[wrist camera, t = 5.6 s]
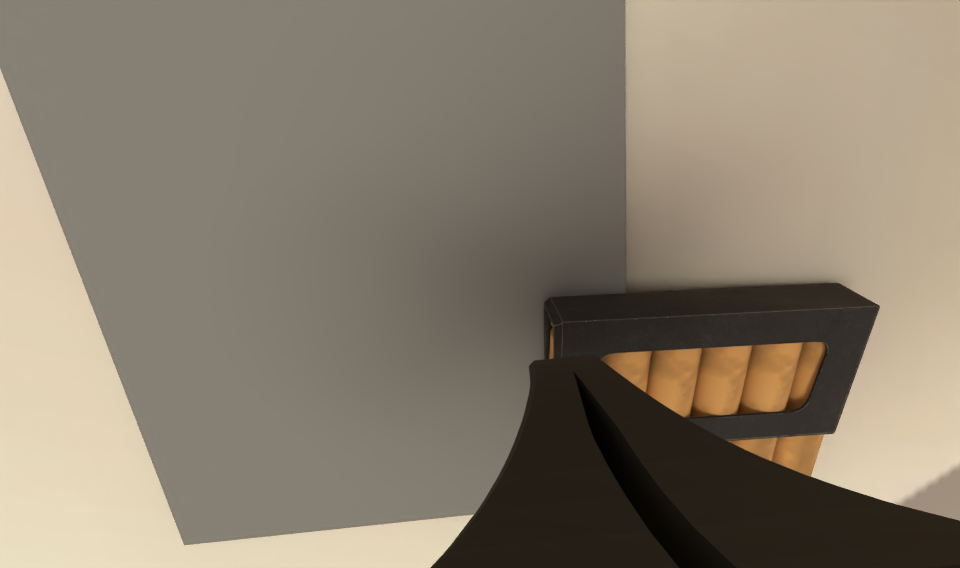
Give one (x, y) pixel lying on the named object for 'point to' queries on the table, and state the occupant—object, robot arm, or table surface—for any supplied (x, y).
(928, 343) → the table surface
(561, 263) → the mat
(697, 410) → the ammunition clip
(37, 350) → the table surface
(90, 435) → the table surface
